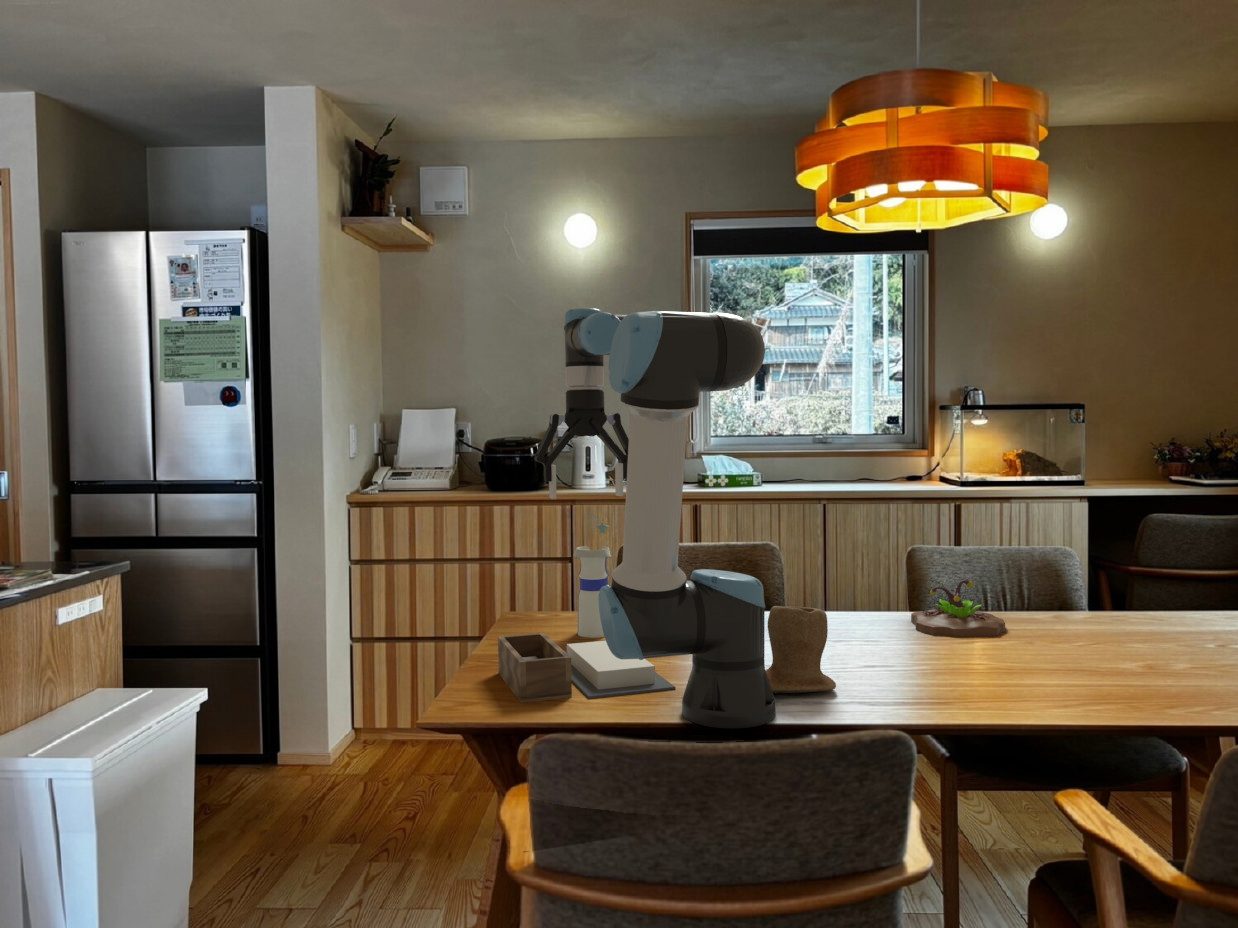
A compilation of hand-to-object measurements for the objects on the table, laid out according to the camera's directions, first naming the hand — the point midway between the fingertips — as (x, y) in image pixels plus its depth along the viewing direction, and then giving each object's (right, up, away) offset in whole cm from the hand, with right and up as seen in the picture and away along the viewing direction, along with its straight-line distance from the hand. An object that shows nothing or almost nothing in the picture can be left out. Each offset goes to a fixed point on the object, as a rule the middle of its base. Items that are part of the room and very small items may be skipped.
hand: (586, 497), depth 188 cm
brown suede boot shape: (+37, -34, -19) cm, 53 cm away
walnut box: (-9, -34, -14) cm, 38 cm away
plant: (+83, -31, +27) cm, 93 cm away
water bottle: (+1, -32, +26) cm, 41 cm away
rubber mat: (+4, -33, -8) cm, 34 cm away
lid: (+4, -33, -8) cm, 34 cm away
